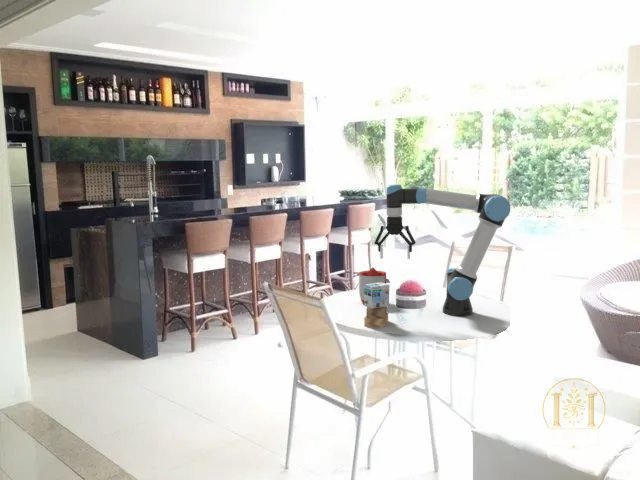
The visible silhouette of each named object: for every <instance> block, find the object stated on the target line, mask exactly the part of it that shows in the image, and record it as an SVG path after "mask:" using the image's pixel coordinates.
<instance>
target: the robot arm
mask: <svg viewBox="0 0 640 480" xmlns="http://www.w3.org/2000/svg"><path fill="white" fill-rule="evenodd" d="M385 194H386V195H385V197H386V200H385V201H386V216H387V217H386V225H381V226H380V230H379V232H378V233H377V237H376V239H375V241H374V245H376V246H377V249H378V250H377V251H378V253H380V255H379V257H380V259H383V258H384V247H383V246H384V245H383V244H384V243H383V242H385V241H386V239H387V238H388V236H390V235H391V236H398V235H399V236H401V238H402V239H403V240H404V242H406V243H407V248H406V249H407V260H410V259H411V253H412V252H413V246H414V245H415V244H416V241H415V239H414V236H413V234H412V232H411V231H410V227H409V225H403V217H402V216H403V205H406V204H407V205H408V204H409V205H417V204H418V205H421V204H427V205H435V206H441V207H449V208H454V209H462V210H469V211H473V212H474V213H476V214H479V215H478V220H479V223H478V225H477V228H476V229H475V231H474V234H473V236H472V238H471V240H470V243H469V245H468V247H467V250H466V252H465V254H464V256H463V258H462V260H461V263H460V265H459V266H457V267H454V268H452V267H451V268H447V271H446V298H445V301H444V303H443V306H442V313H443V314H444V315H445V314H446V315H450V316H457V317H458V316H459V317H462V316H470V315H473V313H474V312H473V309H474V308H473V306H472V302H471V299H470V297H471V296H472V294H473V292H474V286H475V284H476V282H477V280H478V275H477V273H478V270H479V268H480V266H481V264H482V261H484V260H483V259H484V257H485V256H486V253H487V251H488V249H489V247H490V245H491V242H492V240H493V238H494V236H495V234H496V231H497V229H499V228H502V226H503V224H504V222H505V220H506V219H507V218H508V216H509V215H510V213H511V204H510V202H509V200H508V199H507V198H506V197H504V196H503V195H501V194H495V193H493V194H491V193H490V194H489V193H487V194H483V193H478V194H470V193H469V194H467V193H461V192H453V191H446V190H438V189H432V188H425V187H420V186H419V187H418V186H413V187H409V188H403V186H402V185H401V184H389V185H387V186H386V192H385ZM385 230H386V231H387V232H386V233H385V234H384V236H383V238H382V239H381V237H382V235H383V233H384V231H385ZM403 230H404V231H405V232H406V234H407V236H408V237H407V236H406V235H405V234H404V232H403ZM380 239H381V240H380Z"/></svg>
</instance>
